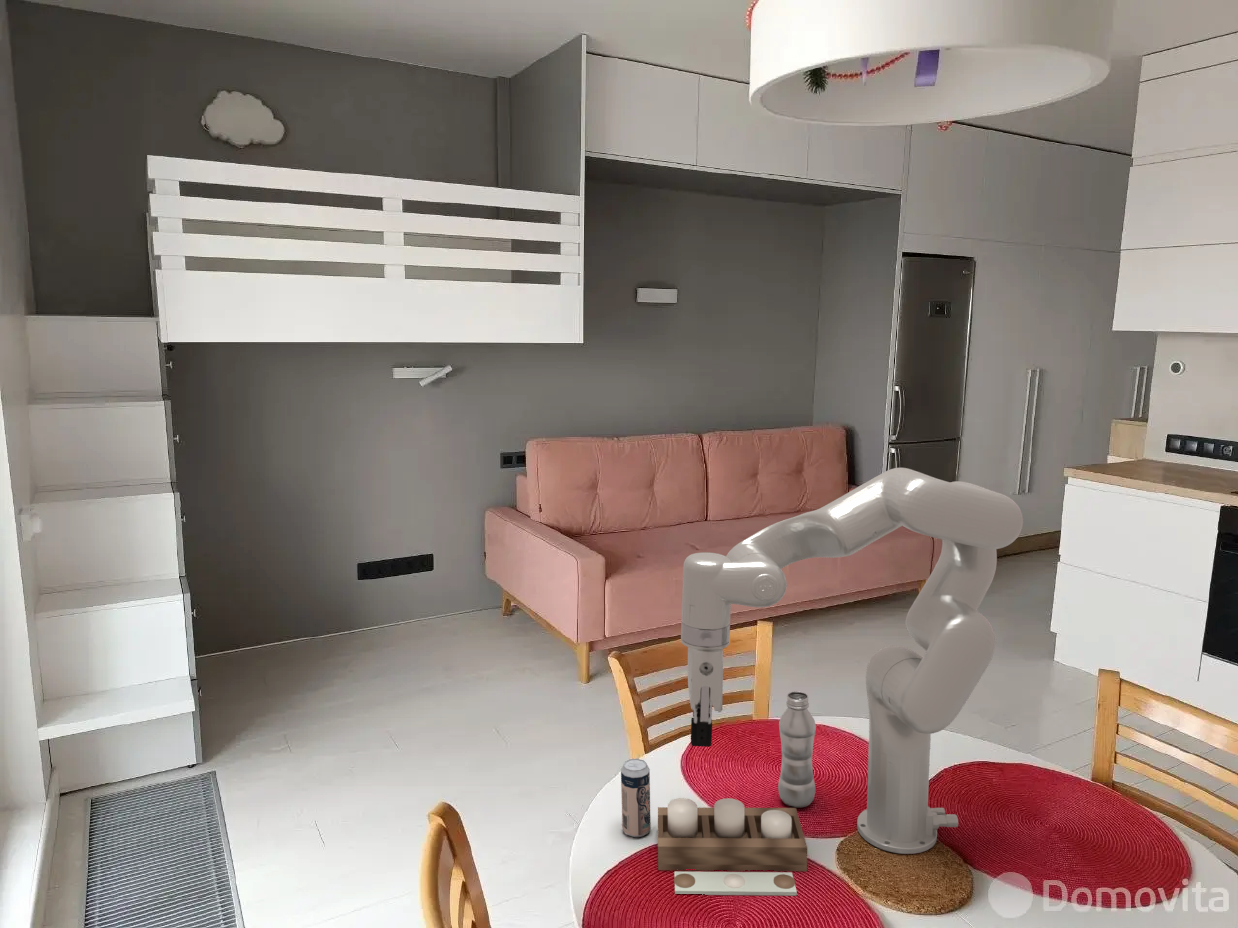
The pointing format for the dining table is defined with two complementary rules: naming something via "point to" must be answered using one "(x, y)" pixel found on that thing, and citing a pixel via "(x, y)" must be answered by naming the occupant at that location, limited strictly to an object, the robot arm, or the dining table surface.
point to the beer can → (635, 797)
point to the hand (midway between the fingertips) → (700, 743)
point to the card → (735, 883)
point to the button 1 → (682, 818)
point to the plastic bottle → (797, 752)
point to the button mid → (729, 818)
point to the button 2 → (776, 825)
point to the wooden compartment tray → (732, 845)
